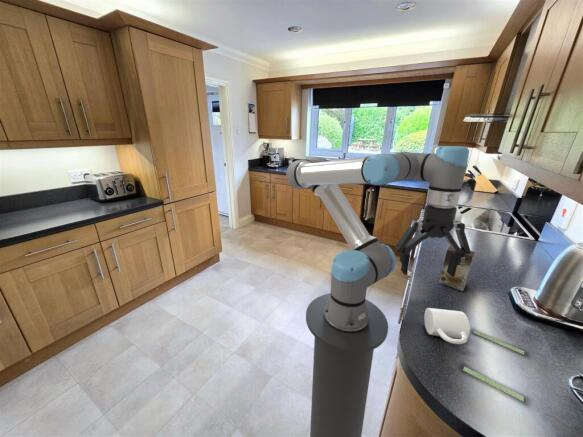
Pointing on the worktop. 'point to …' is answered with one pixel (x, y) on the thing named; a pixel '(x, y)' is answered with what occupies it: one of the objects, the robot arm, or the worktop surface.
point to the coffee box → (460, 273)
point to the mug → (447, 324)
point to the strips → (491, 380)
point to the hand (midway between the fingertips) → (427, 273)
